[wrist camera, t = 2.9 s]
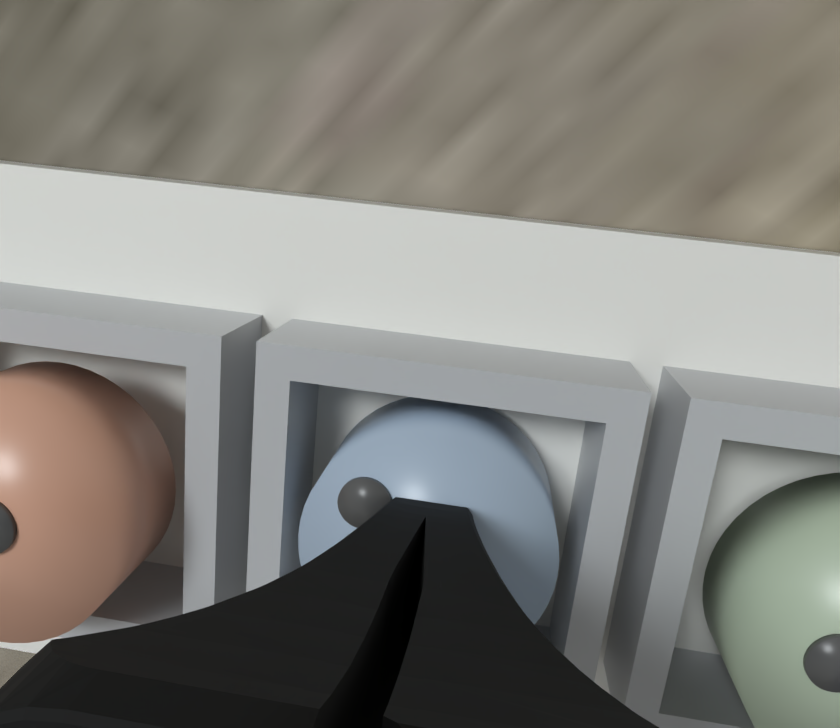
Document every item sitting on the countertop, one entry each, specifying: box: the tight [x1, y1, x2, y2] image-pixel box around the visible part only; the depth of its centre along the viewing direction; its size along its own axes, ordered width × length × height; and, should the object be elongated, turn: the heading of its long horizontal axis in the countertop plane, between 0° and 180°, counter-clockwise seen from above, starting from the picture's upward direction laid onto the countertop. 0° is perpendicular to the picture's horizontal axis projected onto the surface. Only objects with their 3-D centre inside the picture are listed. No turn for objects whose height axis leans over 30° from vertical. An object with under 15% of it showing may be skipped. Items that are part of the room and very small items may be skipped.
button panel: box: [0, 160, 840, 728], centre depth 14 cm, size 11×23×4 cm, turn 84°
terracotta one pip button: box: [0, 361, 176, 643], centre depth 12 cm, size 4×4×2 cm
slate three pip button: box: [298, 397, 559, 625], centre depth 12 cm, size 4×4×2 cm
